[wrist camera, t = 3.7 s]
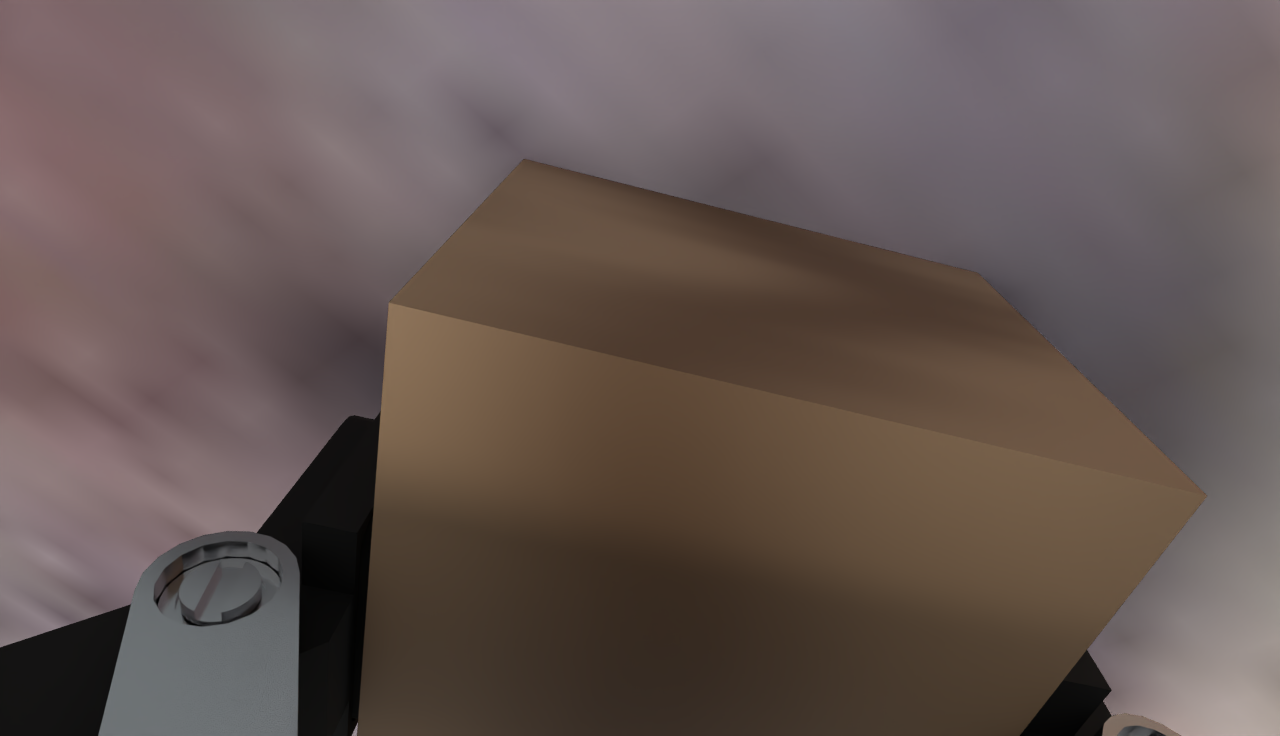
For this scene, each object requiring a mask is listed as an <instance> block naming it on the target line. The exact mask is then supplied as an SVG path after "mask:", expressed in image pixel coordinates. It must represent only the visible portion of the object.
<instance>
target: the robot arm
mask: <svg viewBox="0 0 1280 736" xmlns="http://www.w3.org/2000/svg"><path fill="white" fill-rule="evenodd" d="M380 416H381V412H380V413H379V414H378V416H377V417H376V419H375V420H373V419H369V418H364V417H359V416H355V415H354V416H350V417H348V418H347V419H346V420H345V421H344V422H343V423H342V425H341V426H340V427H339V429H338V430H337V431H336V432H335V434H334V435H333V436H332V437H331V439H330V440H329V441H328V443H327V444H326V445H325V446H324V448H323V449H322V450H321V452H320V453H319V454H318V455H317V457H316V458H315V459H314V460H313V462H312V463H311V464H310V466H309V467H308V468H307V469H306V471H305V472H304V473H303V474H302V476H301V477H300V478H299V480H298V481H297V482H296V483H295V485H294V486H293V487H292V489H291V490H290V491H289V492H288V494H287V495H286V496H285V497H284V499H283V500H282V501H281V503H280V504H279V505H278V506H277V508H276V509H275V510H274V512H273V513H272V514H271V515H270V517H269V518H268V519H267V520H266V522H265V523H264V524H263V526H262V527H261V528H260V529H259V531H258V532H257V533H254V532H243V531H226V532H220V533H214V534H208V535H203V536H200V537H197V538H195V539H192V540H189V541H186V542H184V543H181V544H179V545H177V546H176V547H174V548H172V549H171V550H169V551H167V552H166V553H164V554H162V555H161V556H159V557H158V558H157V559H156V560H155V561H154V562H153V563H152V564H151V565H150V566H149V567H148V568H147V569H146V570H145V571H144V572H143V574H142V576H141V578H140V580H139V582H138V584H137V586H136V588H135V591H134V595H133V599H132V603H131V605H128V606H125V607H122V608H119V609H116V610H113V611H110V612H107V613H104V614H101V615H98V616H94V617H91V618H88V619H85V620H82V621H79V622H76V623H73V624H70V625H67V626H64V627H61V628H58V629H55V630H52V631H49V632H46V633H43V634H40V635H37V636H34V637H31V638H28V639H25V640H22V641H19V642H16V643H13V644H9V645H6V646H3V647H0V736H352V734H353V731H354V729H355V727H356V725H357V722H358V716H359V703H360V689H361V675H362V662H363V648H364V634H365V621H366V607H367V593H368V580H369V566H370V552H371V539H372V525H373V511H374V498H375V484H376V470H377V457H378V443H379V429H380ZM1110 692H1111V688H1110V687H1109V685H1108V683H1107V682H1106V680H1105V679H1104V677H1103V675H1102V674H1101V672H1100V670H1099V669H1098V667H1097V665H1096V664H1095V662H1094V660H1093V659H1092V657H1091V656H1090V654H1089V652H1088V651H1087V650H1086V651H1085V653H1084V654H1083V655H1082V657H1081V658H1080V659H1079V660H1078V662H1077V663H1076V664H1075V665H1074V667H1073V668H1072V669H1071V671H1070V672H1069V673H1068V674H1067V676H1066V677H1065V678H1064V680H1063V681H1062V682H1061V683H1060V685H1059V686H1058V687H1057V688H1056V690H1055V691H1054V692H1053V694H1052V695H1051V696H1050V697H1049V699H1048V700H1047V701H1046V703H1045V704H1044V705H1043V706H1042V708H1041V709H1040V710H1039V711H1038V713H1037V714H1036V715H1035V717H1034V718H1033V719H1032V720H1031V722H1030V723H1029V724H1028V725H1027V727H1026V728H1025V729H1024V731H1023V732H1022V733H1021V734H1020V736H1181V735H1179V734H1178V733H1176V732H1174V731H1173V730H1171V729H1169V728H1168V727H1166V726H1164V725H1163V724H1160V723H1158V722H1155V721H1153V720H1150V719H1148V718H1146V717H1143V716H1138V715H1132V714H1127V713H1124V714H1118V715H1113V716H1111V714H1110V712H1109V711H1108V709H1107V707H1106V705H1105V704H1104V702H1103V700H1104V699H1105V698H1106V696H1107V695H1108V694H1109V693H1110Z"/></svg>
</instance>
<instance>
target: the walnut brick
mask: <svg viewBox="0 0 1280 736" xmlns="http://www.w3.org/2000/svg"><path fill="white" fill-rule="evenodd" d="M1206 497H1207V495H1206V494H1205V493H1204V492H1203V491H1202V490H1201V489H1200V488H1199V487H1198V486H1197V485H1196V484H1195V483H1194V482H1193V481H1192V480H1191V479H1190V478H1188V477H1187V476H1186V475H1185V474H1184V473H1183V472H1182V471H1181V470H1180V469H1179V468H1178V467H1177V466H1176V465H1175V464H1174V463H1173V462H1172V461H1171V460H1170V459H1169V458H1168V457H1167V456H1166V455H1165V454H1164V453H1163V452H1162V451H1161V450H1160V449H1159V448H1158V447H1157V446H1156V445H1155V444H1153V443H1152V442H1151V441H1150V440H1149V439H1148V438H1147V437H1146V436H1145V435H1144V434H1143V433H1142V432H1141V431H1140V430H1139V429H1138V428H1137V427H1136V426H1135V425H1134V424H1133V423H1132V422H1131V421H1130V420H1129V419H1128V418H1127V417H1126V416H1125V415H1124V414H1123V413H1122V412H1121V411H1119V410H1118V409H1117V408H1116V407H1115V406H1114V405H1113V404H1112V403H1111V402H1110V401H1109V400H1108V399H1107V398H1106V397H1105V396H1104V395H1103V394H1102V393H1101V392H1100V391H1099V390H1098V389H1097V388H1096V387H1095V386H1094V385H1093V384H1092V383H1091V382H1090V381H1089V380H1088V379H1087V378H1085V377H1084V376H1083V375H1082V374H1081V373H1080V372H1079V371H1078V370H1077V369H1076V368H1075V367H1074V366H1073V365H1072V364H1071V363H1070V362H1069V361H1068V360H1067V359H1066V358H1065V357H1064V356H1063V355H1062V354H1061V353H1060V352H1059V351H1058V350H1057V349H1056V348H1055V347H1054V346H1053V345H1052V344H1050V343H1049V342H1048V341H1047V340H1046V339H1045V338H1044V337H1043V336H1042V335H1041V334H1040V333H1039V332H1038V331H1037V330H1036V329H1035V328H1034V327H1033V326H1032V325H1031V324H1030V323H1029V322H1028V321H1027V320H1026V319H1025V318H1024V317H1023V316H1022V315H1021V314H1020V313H1019V312H1018V311H1016V310H1015V309H1014V308H1013V307H1012V306H1011V305H1010V304H1009V303H1008V302H1007V301H1006V300H1005V299H1004V298H1003V297H1002V296H1001V295H1000V294H999V293H998V292H997V291H996V290H995V289H994V288H993V287H992V286H991V285H990V284H989V283H988V282H987V281H986V280H985V279H984V278H982V277H981V276H980V275H979V274H978V273H976V272H972V271H968V270H964V269H960V268H956V267H952V266H948V265H944V264H940V263H936V262H932V261H928V260H924V259H920V258H916V257H912V256H908V255H905V254H901V253H897V252H893V251H889V250H885V249H881V248H877V247H873V246H869V245H865V244H861V243H857V242H853V241H849V240H845V239H841V238H837V237H833V236H829V235H825V234H821V233H817V232H813V231H809V230H805V229H801V228H797V227H793V226H789V225H785V224H781V223H777V222H773V221H769V220H765V219H761V218H757V217H753V216H749V215H745V214H741V213H737V212H733V211H729V210H725V209H721V208H717V207H714V206H710V205H706V204H702V203H698V202H694V201H690V200H686V199H682V198H678V197H674V196H670V195H666V194H662V193H658V192H654V191H650V190H646V189H642V188H638V187H634V186H630V185H626V184H622V183H618V182H614V181H610V180H606V179H602V178H598V177H594V176H590V175H586V174H582V173H578V172H574V171H570V170H566V169H562V168H558V167H554V166H550V165H546V164H542V163H538V162H534V161H530V160H526V159H523V160H522V162H521V163H520V164H519V165H518V166H517V167H516V168H515V169H514V170H513V171H512V172H511V173H510V174H509V175H508V176H507V177H506V179H505V180H504V181H503V182H502V183H501V184H500V185H499V186H498V187H497V188H496V189H495V190H494V191H493V192H492V193H491V194H490V196H489V197H488V198H487V199H486V200H485V201H484V202H483V203H482V204H481V205H480V206H479V207H478V208H477V209H476V210H475V212H474V213H473V214H472V215H471V216H470V217H469V218H468V219H467V220H466V221H465V222H464V223H463V224H462V225H461V226H460V227H459V229H458V230H457V231H456V232H455V233H454V234H453V235H452V236H451V237H450V238H449V239H448V240H447V241H446V242H445V243H444V244H443V246H442V247H441V248H440V249H439V250H438V251H437V252H436V253H435V254H434V255H433V256H432V257H431V258H430V259H429V260H428V261H427V263H426V264H425V265H424V266H423V267H422V268H421V269H420V270H419V271H418V272H417V273H416V274H415V275H414V276H413V277H412V278H411V280H410V281H409V282H408V283H407V284H406V285H405V286H404V287H403V288H402V289H401V290H400V291H399V292H398V293H397V294H396V295H395V297H394V298H393V299H392V300H391V301H390V302H389V306H388V320H387V334H386V347H385V361H384V375H383V388H382V402H381V416H380V429H379V443H378V457H377V470H376V484H375V498H374V511H373V525H372V539H371V552H370V566H369V580H368V593H367V607H366V621H365V634H364V648H363V662H362V675H361V689H360V703H359V716H358V730H357V736H1020V734H1021V733H1022V732H1023V731H1024V729H1025V728H1026V727H1027V725H1028V724H1029V723H1030V722H1031V720H1032V719H1033V718H1034V717H1035V715H1036V714H1037V713H1038V711H1039V710H1040V709H1041V708H1042V706H1043V705H1044V704H1045V703H1046V701H1047V700H1048V699H1049V697H1050V696H1051V695H1052V694H1053V692H1054V691H1055V690H1056V688H1057V687H1058V686H1059V685H1060V683H1061V682H1062V681H1063V680H1064V678H1065V677H1066V676H1067V674H1068V673H1069V672H1070V671H1071V669H1072V668H1073V667H1074V665H1075V664H1076V663H1077V662H1078V660H1079V659H1080V658H1081V657H1082V655H1083V654H1084V653H1085V651H1086V650H1087V649H1088V648H1089V646H1090V645H1091V644H1092V642H1093V641H1094V640H1095V639H1096V637H1097V636H1098V635H1099V634H1100V632H1101V631H1102V630H1103V628H1104V627H1105V626H1106V625H1107V623H1108V622H1109V621H1110V620H1111V618H1112V617H1113V616H1114V614H1115V613H1116V612H1117V611H1118V609H1119V608H1120V607H1121V605H1122V604H1123V603H1124V602H1125V600H1126V599H1127V598H1128V597H1129V595H1130V594H1131V593H1132V591H1133V590H1134V589H1135V588H1136V586H1137V585H1138V584H1139V582H1140V581H1141V580H1142V579H1143V577H1144V576H1145V575H1146V574H1147V572H1148V571H1149V570H1150V568H1151V567H1152V566H1153V565H1154V563H1155V562H1156V561H1157V559H1158V558H1159V557H1160V556H1161V554H1162V553H1163V552H1164V551H1165V549H1166V548H1167V547H1168V545H1169V544H1170V543H1171V542H1172V540H1173V539H1174V538H1175V536H1176V535H1177V534H1178V533H1179V531H1180V530H1181V529H1182V528H1183V526H1184V525H1185V524H1186V522H1187V521H1188V520H1189V519H1190V517H1191V516H1192V515H1193V514H1194V512H1195V511H1196V510H1197V508H1198V507H1199V506H1200V505H1201V503H1202V502H1203V501H1204V499H1205V498H1206Z"/></svg>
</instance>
